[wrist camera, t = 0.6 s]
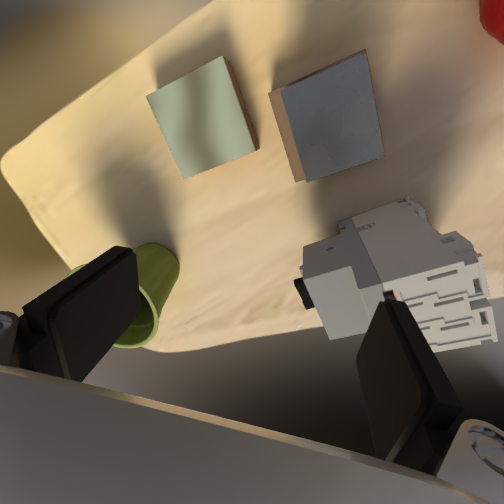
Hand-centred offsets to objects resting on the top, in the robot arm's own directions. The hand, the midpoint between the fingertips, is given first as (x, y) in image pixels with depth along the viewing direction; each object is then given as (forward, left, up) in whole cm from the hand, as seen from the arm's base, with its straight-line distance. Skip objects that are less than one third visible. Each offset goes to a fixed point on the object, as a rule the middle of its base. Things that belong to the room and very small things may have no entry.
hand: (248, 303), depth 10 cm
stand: (+6, -9, -25) cm, 27 cm away
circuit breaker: (-6, +11, -25) cm, 28 cm away
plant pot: (+22, +6, -25) cm, 34 cm away
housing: (-6, -4, -22) cm, 23 cm away
